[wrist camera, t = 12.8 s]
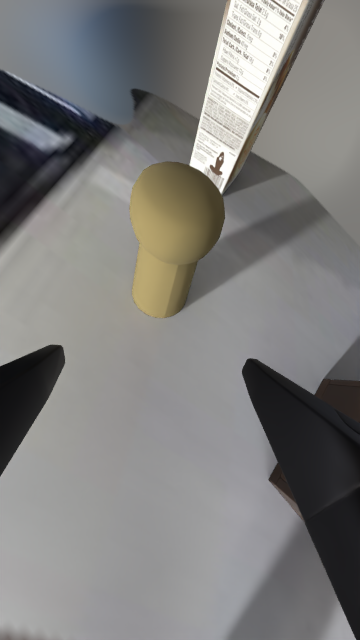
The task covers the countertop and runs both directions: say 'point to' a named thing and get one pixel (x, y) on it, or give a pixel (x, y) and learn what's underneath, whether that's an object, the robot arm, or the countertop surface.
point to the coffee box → (247, 80)
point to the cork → (172, 233)
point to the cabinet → (340, 394)
